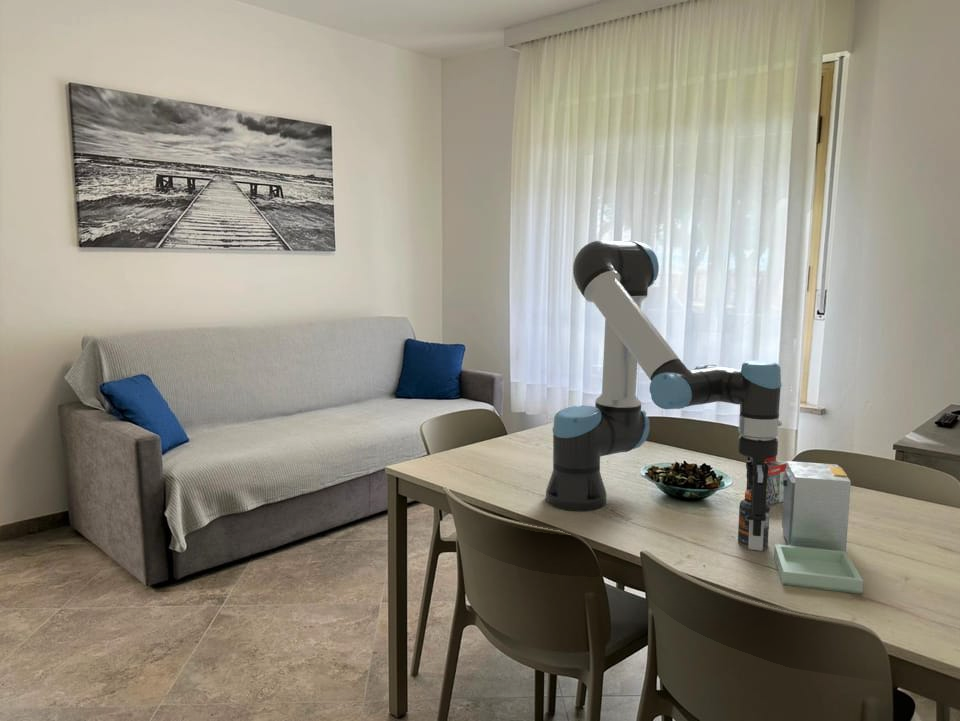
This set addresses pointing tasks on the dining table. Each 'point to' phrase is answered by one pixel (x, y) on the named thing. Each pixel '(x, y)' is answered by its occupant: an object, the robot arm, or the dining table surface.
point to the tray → (817, 569)
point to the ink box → (775, 480)
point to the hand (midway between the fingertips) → (753, 542)
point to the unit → (815, 505)
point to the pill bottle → (744, 523)
